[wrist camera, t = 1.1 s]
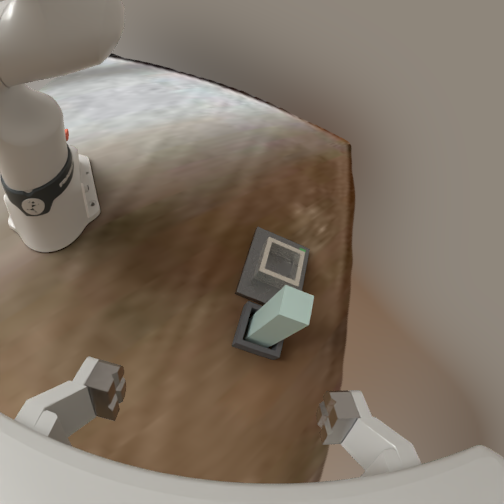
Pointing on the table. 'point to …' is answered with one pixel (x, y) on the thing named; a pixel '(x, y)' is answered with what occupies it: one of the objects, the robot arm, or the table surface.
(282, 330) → the plug
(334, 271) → the table surface
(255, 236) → the port panel
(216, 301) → the table surface
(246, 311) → the holster
